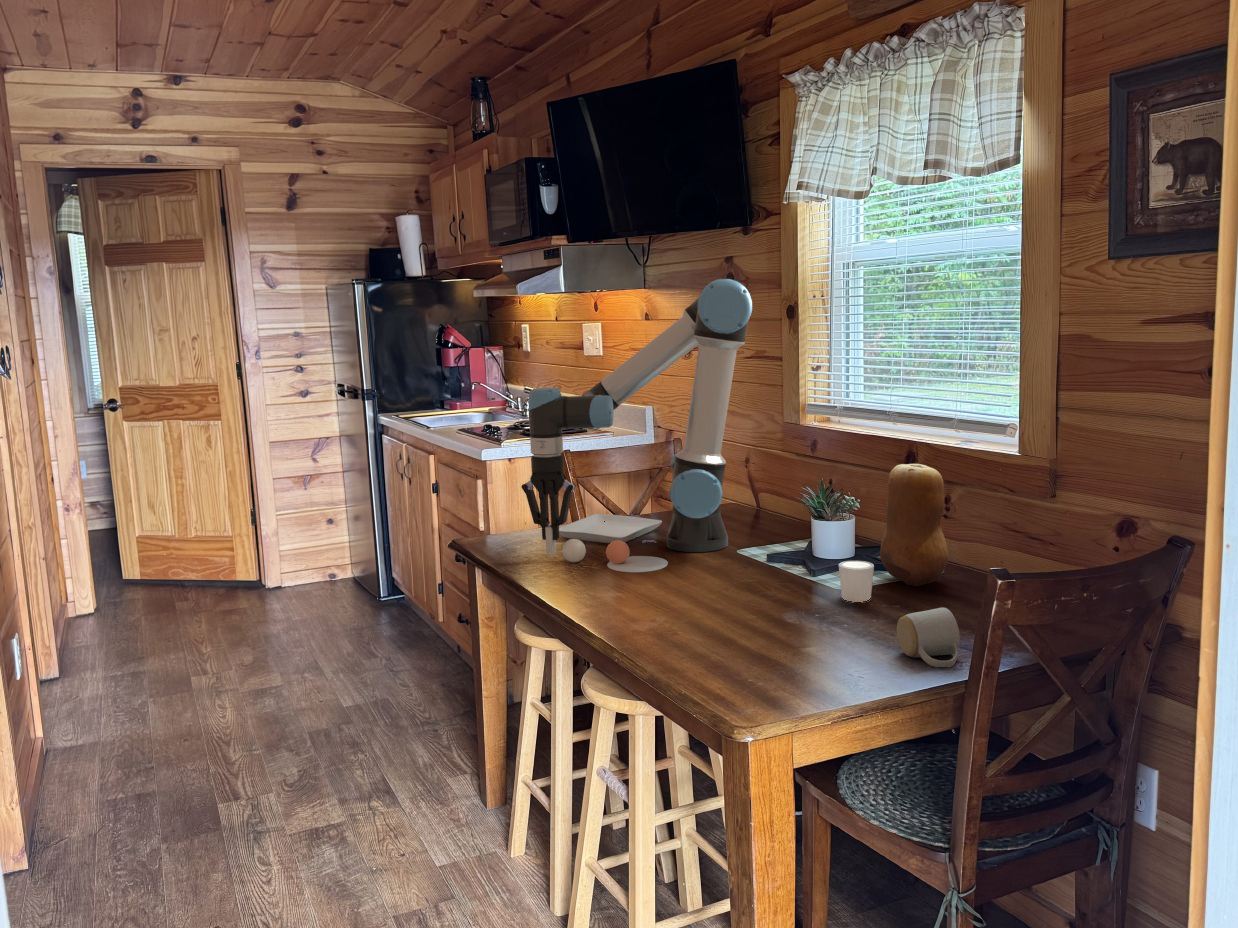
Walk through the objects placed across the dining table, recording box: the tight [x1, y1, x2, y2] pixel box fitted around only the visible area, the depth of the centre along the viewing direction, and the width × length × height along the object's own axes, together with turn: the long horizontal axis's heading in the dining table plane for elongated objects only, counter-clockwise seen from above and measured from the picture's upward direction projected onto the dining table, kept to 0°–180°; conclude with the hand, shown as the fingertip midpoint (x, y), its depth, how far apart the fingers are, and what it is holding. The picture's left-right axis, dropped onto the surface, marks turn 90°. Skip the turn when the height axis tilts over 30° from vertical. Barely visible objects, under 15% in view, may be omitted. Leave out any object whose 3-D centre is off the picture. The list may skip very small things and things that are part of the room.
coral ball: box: [605, 540, 631, 564], centre depth 232 cm, size 6×6×6 cm
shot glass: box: [838, 560, 875, 603], centre depth 198 cm, size 7×7×7 cm
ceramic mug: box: [896, 607, 961, 668], centre depth 164 cm, size 11×8×8 cm
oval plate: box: [607, 555, 669, 573], centre depth 231 cm, size 14×14×1 cm
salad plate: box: [559, 513, 663, 544], centre depth 261 cm, size 21×21×3 cm
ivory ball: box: [562, 538, 587, 563], centre depth 234 cm, size 6×6×6 cm
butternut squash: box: [879, 463, 949, 587], centre depth 206 cm, size 14×13×25 cm
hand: (551, 553), depth 236 cm, fingers closed
